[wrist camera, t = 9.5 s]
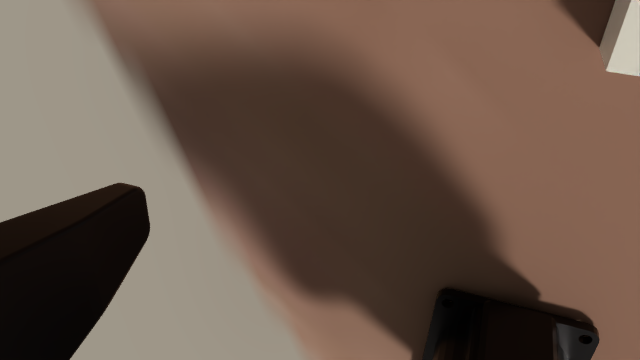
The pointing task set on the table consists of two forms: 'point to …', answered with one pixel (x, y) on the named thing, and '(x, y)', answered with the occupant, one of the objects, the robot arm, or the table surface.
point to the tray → (622, 39)
